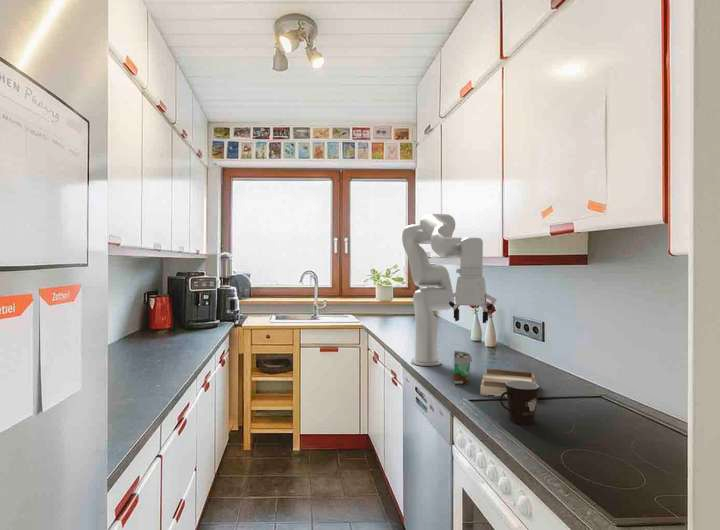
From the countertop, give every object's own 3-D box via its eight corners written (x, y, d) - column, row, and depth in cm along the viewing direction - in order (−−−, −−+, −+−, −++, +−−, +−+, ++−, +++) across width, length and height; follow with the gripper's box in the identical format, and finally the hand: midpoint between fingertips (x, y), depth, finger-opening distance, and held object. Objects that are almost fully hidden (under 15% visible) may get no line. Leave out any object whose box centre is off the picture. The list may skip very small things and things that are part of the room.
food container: (472, 387, 156) (472, 358, 155) (454, 386, 157) (454, 357, 157) (471, 378, 168) (471, 351, 167) (454, 377, 169) (454, 350, 169)
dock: (484, 380, 165) (484, 368, 165) (534, 385, 159) (534, 372, 159) (480, 394, 148) (480, 381, 148) (536, 400, 142) (536, 386, 142)
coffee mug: (530, 415, 129) (530, 380, 129) (544, 426, 120) (544, 389, 120) (490, 415, 128) (490, 380, 128) (500, 427, 120) (501, 389, 119)
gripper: (444, 272, 159) (443, 321, 159) (494, 274, 151) (493, 325, 152) (450, 271, 166) (449, 318, 166) (498, 273, 158) (497, 322, 158)
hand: (470, 321), depth 159 cm, fingers open, 9 cm apart
